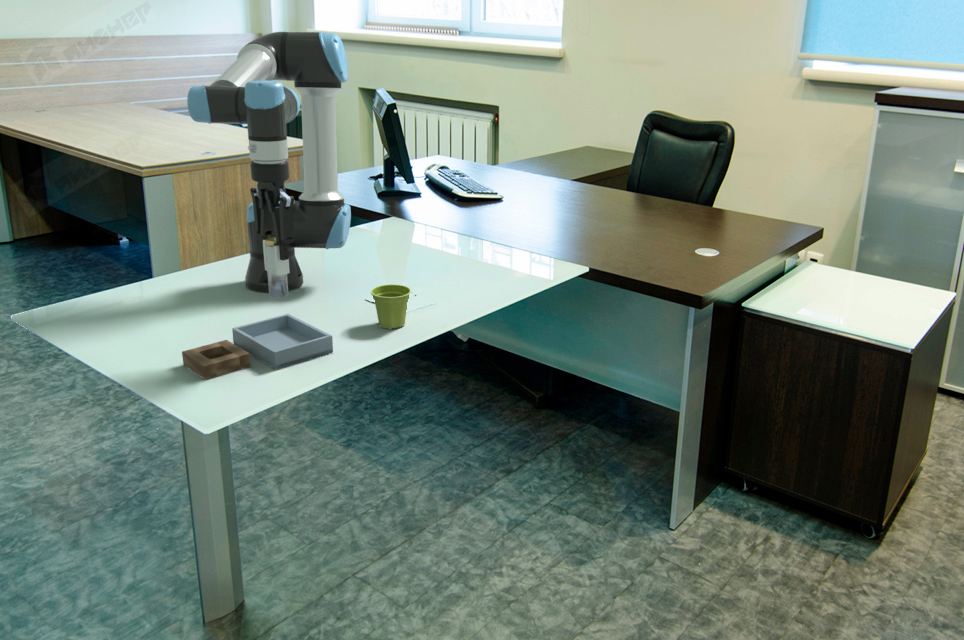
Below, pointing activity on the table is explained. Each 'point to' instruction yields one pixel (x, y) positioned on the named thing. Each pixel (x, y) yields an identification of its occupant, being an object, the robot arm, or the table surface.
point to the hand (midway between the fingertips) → (277, 271)
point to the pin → (274, 272)
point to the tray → (282, 341)
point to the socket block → (216, 359)
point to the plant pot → (391, 304)
